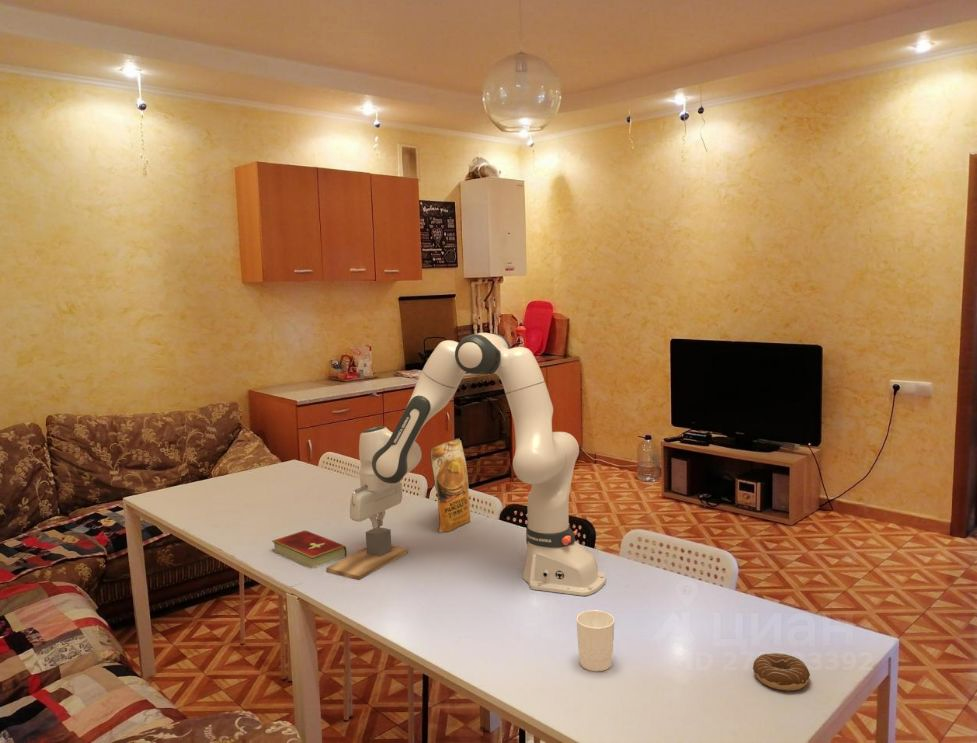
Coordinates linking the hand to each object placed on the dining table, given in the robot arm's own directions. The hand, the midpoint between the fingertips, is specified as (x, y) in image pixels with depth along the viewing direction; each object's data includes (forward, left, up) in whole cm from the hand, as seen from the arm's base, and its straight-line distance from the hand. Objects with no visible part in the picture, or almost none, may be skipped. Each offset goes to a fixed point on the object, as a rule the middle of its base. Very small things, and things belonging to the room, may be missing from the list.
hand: (377, 526), depth 213 cm
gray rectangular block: (0, 0, -8) cm, 8 cm away
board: (0, +5, -9) cm, 10 cm away
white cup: (-79, +25, -9) cm, 83 cm away
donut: (-114, +13, -10) cm, 115 cm away
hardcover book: (+20, +8, -10) cm, 24 cm away
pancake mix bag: (-5, -32, -9) cm, 34 cm away
